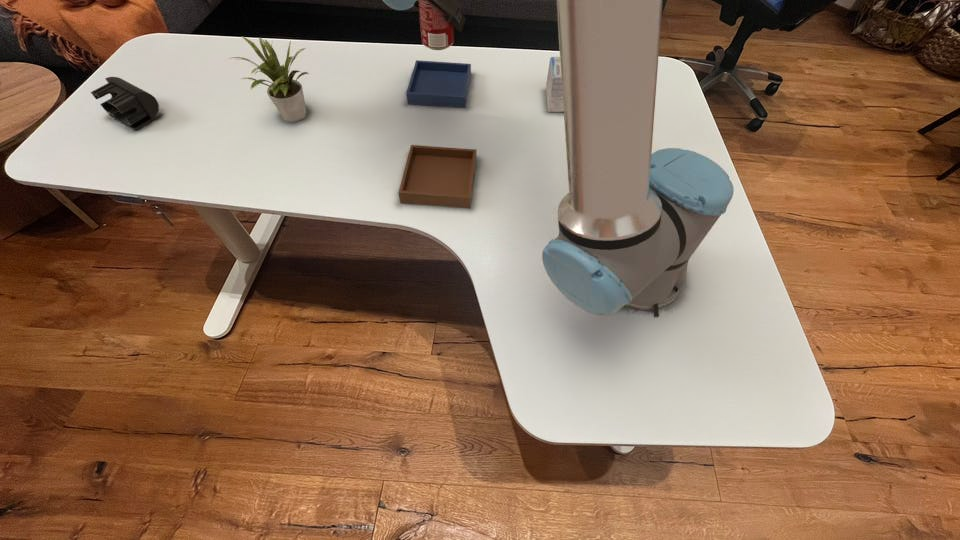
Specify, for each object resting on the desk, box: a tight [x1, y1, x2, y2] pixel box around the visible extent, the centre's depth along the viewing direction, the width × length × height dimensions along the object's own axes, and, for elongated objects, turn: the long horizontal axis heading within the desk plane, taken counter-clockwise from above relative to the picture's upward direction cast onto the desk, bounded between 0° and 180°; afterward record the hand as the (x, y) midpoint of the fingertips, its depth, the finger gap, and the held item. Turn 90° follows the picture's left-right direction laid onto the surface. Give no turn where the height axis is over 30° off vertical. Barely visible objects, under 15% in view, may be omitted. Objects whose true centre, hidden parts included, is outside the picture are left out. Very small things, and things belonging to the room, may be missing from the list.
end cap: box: [90, 76, 160, 132], centre depth 92 cm, size 10×7×7 cm
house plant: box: [227, 36, 310, 123], centre depth 89 cm, size 14×14×16 cm
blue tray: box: [405, 59, 472, 109], centre depth 101 cm, size 13×13×3 cm
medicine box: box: [545, 56, 564, 113], centre depth 96 cm, size 8×4×9 cm, turn 179°
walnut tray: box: [397, 144, 477, 209], centre depth 84 cm, size 13×13×3 cm
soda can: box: [418, 0, 455, 51], centre depth 87 cm, size 7×7×12 cm
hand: (447, 19), depth 91 cm, fingers closed on soda can, 7 cm apart
